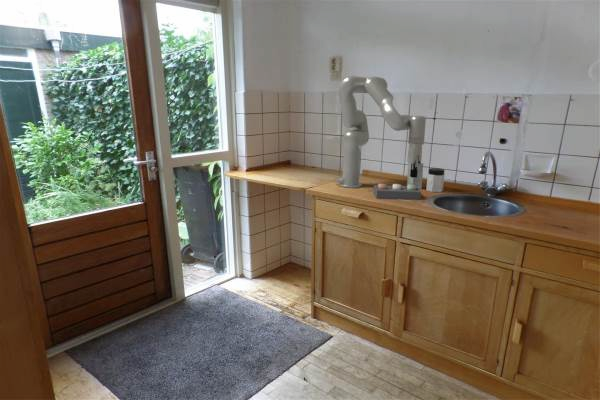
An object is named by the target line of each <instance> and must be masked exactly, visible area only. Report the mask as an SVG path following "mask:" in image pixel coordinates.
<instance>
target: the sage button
mask: <svg viewBox="0 0 600 400" xmlns="http://www.w3.org/2000/svg"><path fill="white" fill-rule="evenodd" d="M406 186H407V190H416V185H413V184H408V185H407V184H406Z"/></svg>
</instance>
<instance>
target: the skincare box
mask: <svg viewBox="0 0 600 400" xmlns="http://www.w3.org/2000/svg"><path fill="white" fill-rule="evenodd" d="M407 165H408V166H407V178H406V180H407V181H406V186H407V185H408V184H413V185H416V188H417V189H418V190H422V189H423V188H422V187H423V177H424V175H423V173H424V163H423V162H421V164H418V172H417V177H410V170H411V164H410V163H409V162H408V161H407Z"/></svg>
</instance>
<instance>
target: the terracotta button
mask: <svg viewBox="0 0 600 400" xmlns="http://www.w3.org/2000/svg"><path fill="white" fill-rule="evenodd" d="M377 185H378V189H386V188H387V186H388V185H387V184H386V183H378V184H377Z"/></svg>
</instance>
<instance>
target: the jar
mask: <svg viewBox="0 0 600 400" xmlns="http://www.w3.org/2000/svg"><path fill="white" fill-rule="evenodd" d="M444 183H445V169H443V168H437V167H431V168H429V169H428V173H427V179H426V188H425V189H426V191H428V192H431V193H442V192H443V191H444Z"/></svg>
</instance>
